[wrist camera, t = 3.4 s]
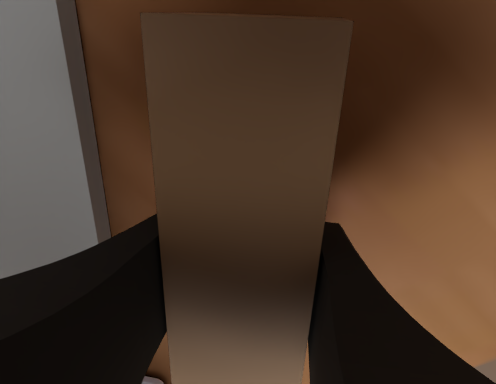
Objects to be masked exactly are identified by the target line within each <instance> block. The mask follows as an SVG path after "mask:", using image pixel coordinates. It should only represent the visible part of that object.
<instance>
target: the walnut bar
mask: <svg viewBox="0 0 496 384" xmlns="http://www.w3.org/2000/svg"><path fill="white" fill-rule="evenodd" d="M140 18H141V30H142V42H143V54H144V65H145V77H146V89H147V101H148V113H149V124H150V136H151V148H152V160H153V171H154V183H155V195H156V207H157V218H158V230H159V242H160V254H161V265H162V277H163V289H164V301H165V313H166V324H167V336H168V348H169V360H170V371H171V383H172V384H301V383H302V376H303V369H304V362H305V355H306V348H307V341H308V335H309V328H310V321H311V314H312V307H313V300H314V293H315V286H316V279H317V272H318V265H319V258H320V251H321V244H322V237H323V230H324V223H325V217H326V210H327V203H328V196H329V189H330V182H331V175H332V168H333V161H334V154H335V147H336V140H337V133H338V126H339V119H340V112H341V106H342V99H343V92H344V85H345V78H346V71H347V64H348V57H349V50H350V43H351V36H352V29H353V22H354V21H351V20H348V19H345V18H340V17H314V16H289V15H264V14H238V13H213V12H162V13H140Z"/></svg>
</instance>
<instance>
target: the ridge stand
mask: <svg viewBox="0 0 496 384" xmlns="http://www.w3.org/2000/svg"><path fill="white" fill-rule="evenodd" d="M109 238H111V233H110V226H109V220H108V213H107V207H106V200H105V194H104V187H103V181H102V175H101V168H100V162H99V155H98V149H97V142H96V136H95V129H94V123H93V116H92V110H91V103H90V97H89V90H88V84H87V77H86V71H85V65H84V58H83V52H82V45H81V39H80V32H79V26H78V19H77V13H76V6H75V0H0V279H2V278H5V277H9V276H12V275H15V274H18V273H22V272H25V271H28V270H31V269H34V268H38V267H41V266H44V265H47V264H50V263H53V262H56V261H58V260H61V259H63V258H66V257H69V256H71V255H74V254H76V253H79V252H81V251H84V250H86V249H88V248H90V247H93V246H95V245H97V244H99V243H101V242H103V241H105V240H107V239H109Z"/></svg>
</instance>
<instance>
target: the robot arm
mask: <svg viewBox="0 0 496 384" xmlns="http://www.w3.org/2000/svg"><path fill="white" fill-rule="evenodd" d="M166 332H167V324H166V313H165V301H164V289H163V277H162V265H161V254H160V242H159V230H158V218H157V214H155V215H153V216H151V217H150V218H148V219H146V220H144V221H142V222H140V223H139V224H137V225H135V226H133V227H131V228H129V229H127V230H126V231H124V232H122V233H120V234H118V235H115V236H113V237H111V238H109V239H107V240H105V241H103V242H101V243H99V244H97V245H95V246H93V247H90V248H88V249H86V250H84V251H81V252H79V253H76V254H74V255H71V256H69V257H66V258H63V259H61V260H58V261H56V262H53V263H50V264H47V265H44V266H41V267H38V268H34V269H31V270H28V271H25V272H22V273H18V274H15V275H12V276H9V277H5V278H2V279H0V384H164V383H163V382H162V381H161V380H160V379H157V378H152V377H147V376H145V374H146V372H147V369H148V367H149V365H150V363H151V361H152V359H153V356H154V354H155V353H156V351H157V349H158V347H159V345H160V343H161V341H162V339H163V337H164V335H165V333H166ZM308 349H309V371H310V384H496V383H494V382H492V381H491V380H490V379H489V378H487V377H486V376H485V375H483V374H482V373H480V372H479V371H478V370H476V369H475V368H473V367H472V366H471V365H469V364H468V363H466V362H465V361H464V360H463V359H461V358H460V357H459V356H457V355H456V354H455V353H453V352H452V351H451V350H450V349H448V348H447V347H446V346H445V345H443V344H442V343H441V342H440V341H439V340H438V339H436V338H435V337H434V336H433V335H432V334H430V333H429V332H428V331H427V330H426V329H424V328H423V327H422V326H421V325H420V324H419V323H418V322H417V321H416V320H415V319H413V318H412V317H411V316H410V315H409V314H408V313H407V312H406V311H405V310H404V309H403V308H402V307H401V306H400V305H399V304H398V303H397V302H396V301H395V300H394V299H393V298H392V296H391V295H390V294H389V293H388V292H387V291H386V290H385V289H384V287H383V286H382V285H381V284H380V282H379V281H378V280H377V279H376V278H375V276H374V275H373V274H372V272H371V271H370V270H369V268H368V267H367V266H366V264H365V263H364V261H363V260H362V259H361V257H360V256H359V254H358V253H357V251H356V250H355V248H354V247H353V245H352V244H351V242H350V240H349V239H348V237H347V235H346V234H345V232H344V230H343V228H342V227H341V226H340V224H339V223H330V222H325V223H324V230H323V237H322V244H321V251H320V258H319V265H318V272H317V279H316V286H315V293H314V300H313V307H312V314H311V321H310V328H309V335H308Z"/></svg>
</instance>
